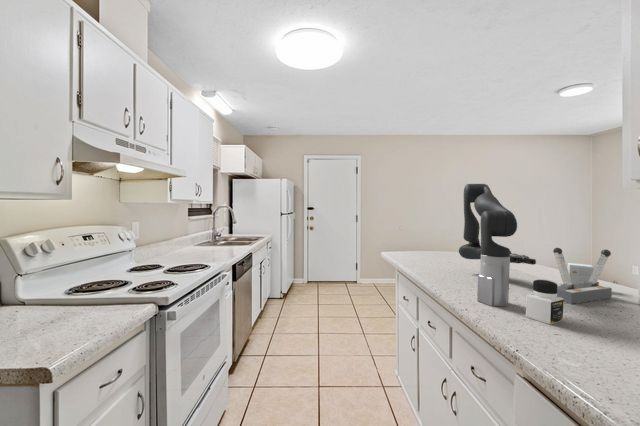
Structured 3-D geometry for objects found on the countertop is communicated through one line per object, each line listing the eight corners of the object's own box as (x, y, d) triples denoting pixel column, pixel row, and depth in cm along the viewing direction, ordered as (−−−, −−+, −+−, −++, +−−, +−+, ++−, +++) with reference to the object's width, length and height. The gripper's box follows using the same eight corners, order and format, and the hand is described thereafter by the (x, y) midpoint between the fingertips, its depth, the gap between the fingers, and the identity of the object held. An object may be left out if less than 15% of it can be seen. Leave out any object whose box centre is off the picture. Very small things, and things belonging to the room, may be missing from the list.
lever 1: (570, 288, 113) (557, 247, 117) (562, 289, 116) (550, 248, 120) (575, 288, 114) (562, 247, 118) (567, 288, 117) (555, 248, 121)
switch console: (571, 304, 110) (571, 288, 110) (547, 297, 117) (548, 282, 117) (611, 298, 118) (611, 283, 118) (587, 292, 125) (587, 278, 125)
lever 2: (592, 287, 118) (609, 251, 113) (584, 284, 121) (600, 248, 116) (597, 287, 119) (614, 251, 114) (589, 283, 122) (605, 248, 117)
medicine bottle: (550, 325, 90) (552, 284, 89) (525, 317, 96) (526, 279, 96) (563, 321, 93) (564, 282, 93) (537, 313, 99) (539, 277, 99)
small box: (590, 288, 132) (591, 264, 131) (593, 291, 127) (594, 266, 127) (566, 285, 136) (567, 262, 136) (568, 288, 131) (569, 264, 131)
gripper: (487, 248, 141) (523, 253, 125) (508, 247, 145) (545, 252, 129) (486, 264, 141) (523, 271, 125) (507, 262, 146) (545, 270, 129)
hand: (534, 262), depth 127 cm, fingers closed
